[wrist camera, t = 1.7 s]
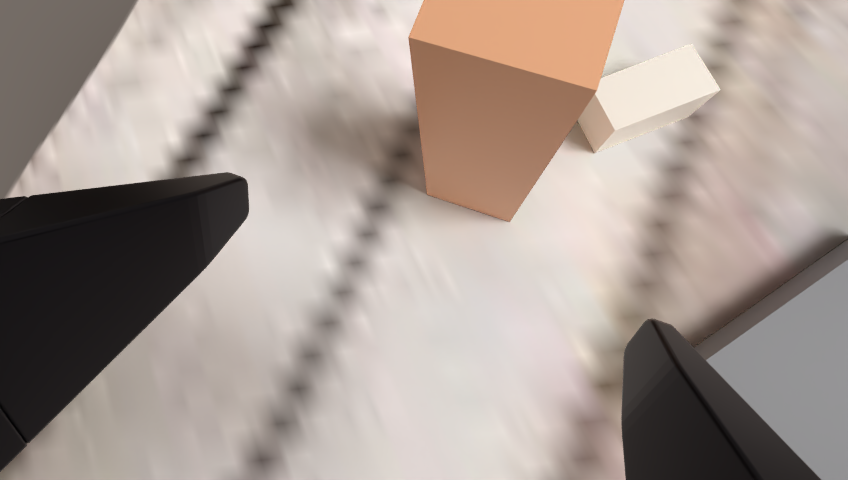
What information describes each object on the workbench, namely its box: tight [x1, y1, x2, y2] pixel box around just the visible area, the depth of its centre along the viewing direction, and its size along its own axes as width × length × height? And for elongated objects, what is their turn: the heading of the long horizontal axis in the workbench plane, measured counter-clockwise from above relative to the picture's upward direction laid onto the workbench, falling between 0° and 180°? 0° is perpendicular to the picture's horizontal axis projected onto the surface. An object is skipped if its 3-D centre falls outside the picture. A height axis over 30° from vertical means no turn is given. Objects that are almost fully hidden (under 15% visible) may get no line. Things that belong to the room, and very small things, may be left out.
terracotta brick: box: [409, 0, 624, 222], centre depth 17 cm, size 5×5×13 cm
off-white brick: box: [577, 43, 720, 153], centre depth 22 cm, size 6×3×3 cm, turn 111°
